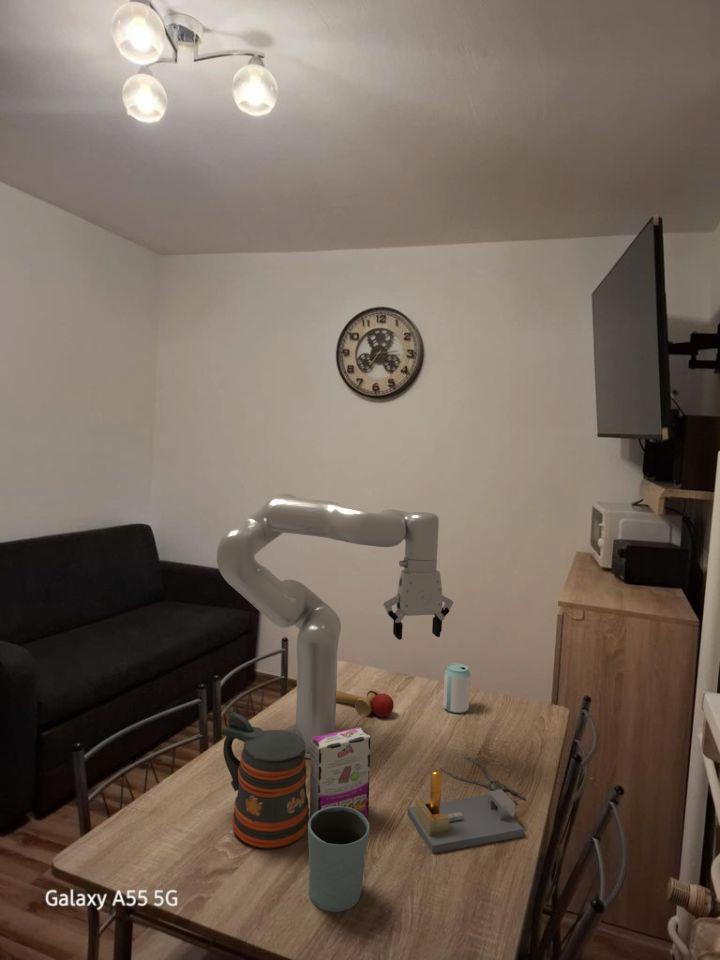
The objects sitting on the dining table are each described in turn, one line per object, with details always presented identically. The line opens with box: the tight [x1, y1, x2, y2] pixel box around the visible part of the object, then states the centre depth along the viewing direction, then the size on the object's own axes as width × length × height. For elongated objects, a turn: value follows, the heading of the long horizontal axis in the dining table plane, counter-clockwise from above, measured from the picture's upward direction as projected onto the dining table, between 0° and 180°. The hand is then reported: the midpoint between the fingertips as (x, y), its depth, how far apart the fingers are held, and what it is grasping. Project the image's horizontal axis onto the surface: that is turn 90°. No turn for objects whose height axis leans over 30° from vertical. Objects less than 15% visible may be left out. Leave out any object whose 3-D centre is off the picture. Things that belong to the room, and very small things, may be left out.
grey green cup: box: [307, 806, 370, 913], centre depth 103 cm, size 10×10×12 cm
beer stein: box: [221, 711, 310, 849], centre depth 121 cm, size 19×15×20 cm
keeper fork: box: [415, 797, 450, 836], centre depth 121 cm, size 4×7×3 cm, turn 18°
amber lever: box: [429, 768, 463, 822], centre depth 121 cm, size 7×2×10 cm, turn 108°
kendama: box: [336, 688, 395, 718], centre depth 172 cm, size 8×6×18 cm
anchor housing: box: [487, 790, 516, 821], centre depth 125 cm, size 3×5×3 cm, turn 18°
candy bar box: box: [309, 726, 371, 819], centre depth 124 cm, size 11×5×16 cm, turn 117°
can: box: [442, 663, 471, 714], centre depth 175 cm, size 7×7×12 cm
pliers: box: [439, 756, 526, 805], centre depth 140 cm, size 10×1×20 cm
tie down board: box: [407, 794, 525, 854], centre depth 123 cm, size 19×12×2 cm, turn 108°
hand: (417, 636), depth 149 cm, fingers open, 9 cm apart
